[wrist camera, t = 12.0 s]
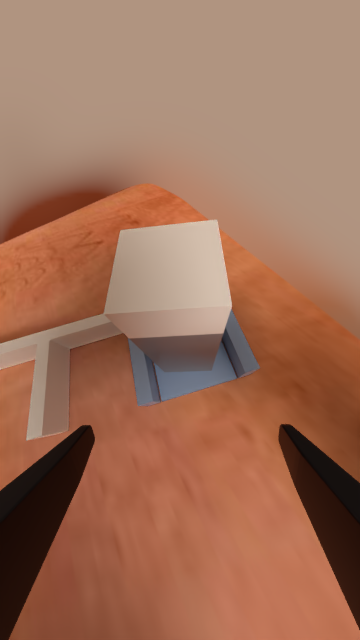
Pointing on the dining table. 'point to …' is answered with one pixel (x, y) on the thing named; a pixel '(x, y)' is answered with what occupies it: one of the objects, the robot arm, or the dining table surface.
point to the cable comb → (55, 368)
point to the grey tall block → (171, 293)
